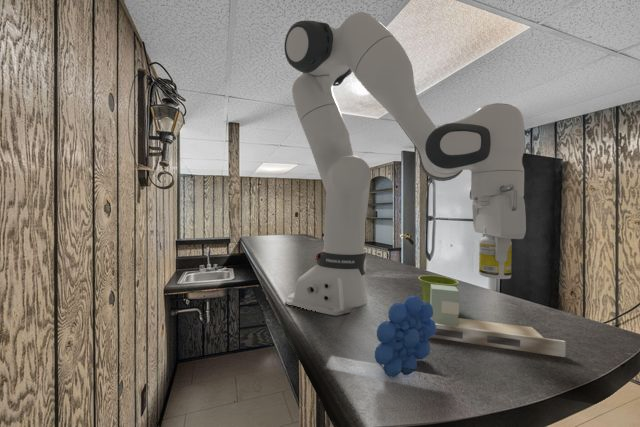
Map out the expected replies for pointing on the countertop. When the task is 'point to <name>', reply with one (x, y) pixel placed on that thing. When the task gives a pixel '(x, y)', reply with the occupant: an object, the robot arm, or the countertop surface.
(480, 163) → the robot arm
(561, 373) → the countertop surface
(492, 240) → the supplement bottle
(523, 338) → the shelf board
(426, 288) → the plant pot
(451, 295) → the sage tin
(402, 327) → the grapes
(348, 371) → the countertop surface
